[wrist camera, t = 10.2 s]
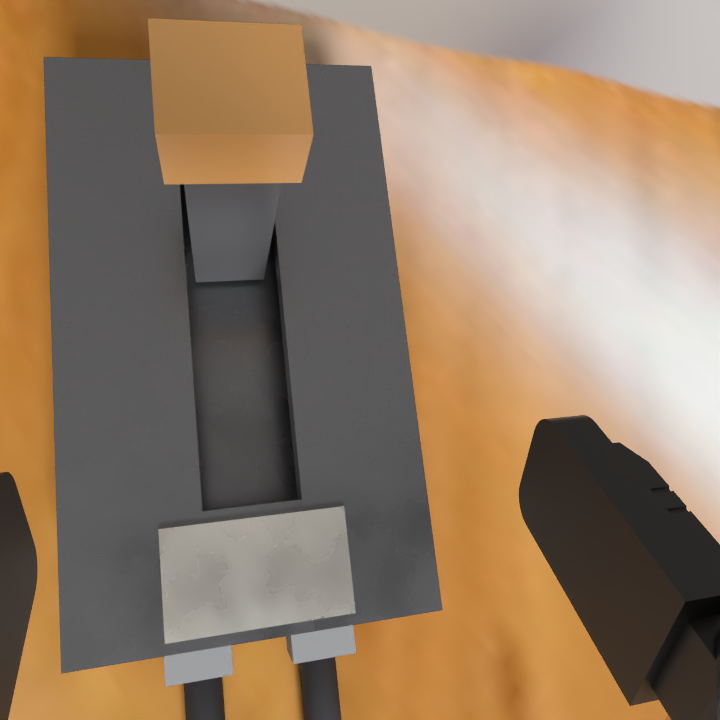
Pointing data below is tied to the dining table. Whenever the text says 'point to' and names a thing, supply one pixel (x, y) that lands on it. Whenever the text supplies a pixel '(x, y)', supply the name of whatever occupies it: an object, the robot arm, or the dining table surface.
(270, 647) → the dining table surface
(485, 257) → the dining table surface
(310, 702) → the power cords
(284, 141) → the handle
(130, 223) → the breaker box
